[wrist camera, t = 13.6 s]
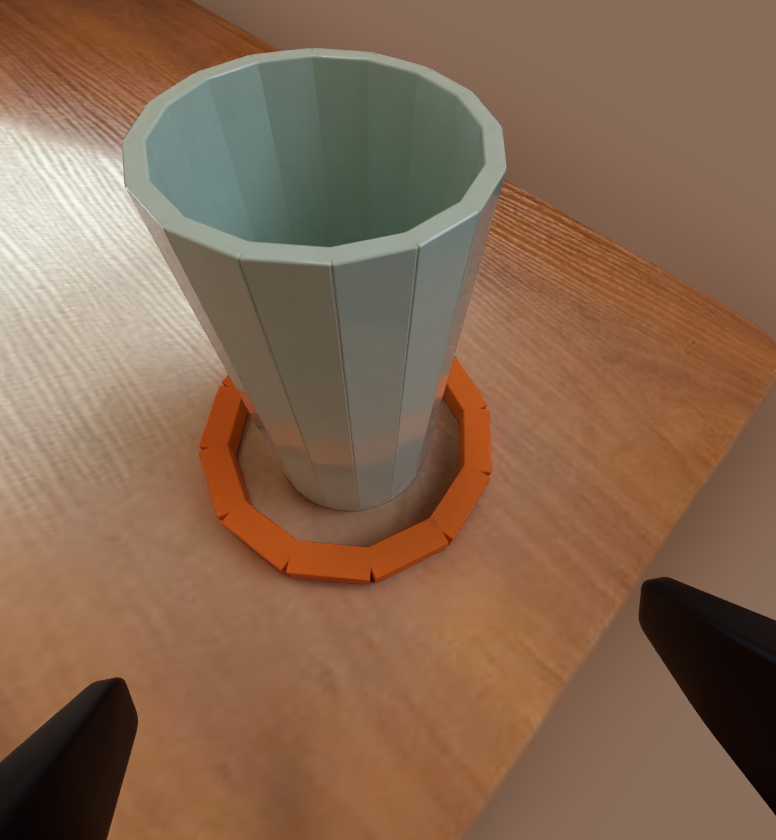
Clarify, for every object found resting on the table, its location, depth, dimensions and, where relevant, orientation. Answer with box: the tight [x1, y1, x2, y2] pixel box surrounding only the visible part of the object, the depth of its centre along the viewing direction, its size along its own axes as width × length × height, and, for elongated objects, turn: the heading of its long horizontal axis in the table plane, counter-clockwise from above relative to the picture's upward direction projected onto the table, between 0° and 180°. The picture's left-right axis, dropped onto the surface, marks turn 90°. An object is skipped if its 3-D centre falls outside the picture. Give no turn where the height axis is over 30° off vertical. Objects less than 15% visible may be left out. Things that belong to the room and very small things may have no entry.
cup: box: [122, 48, 507, 511], centre depth 13 cm, size 7×7×13 cm
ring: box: [199, 356, 492, 585], centre depth 18 cm, size 12×12×1 cm
